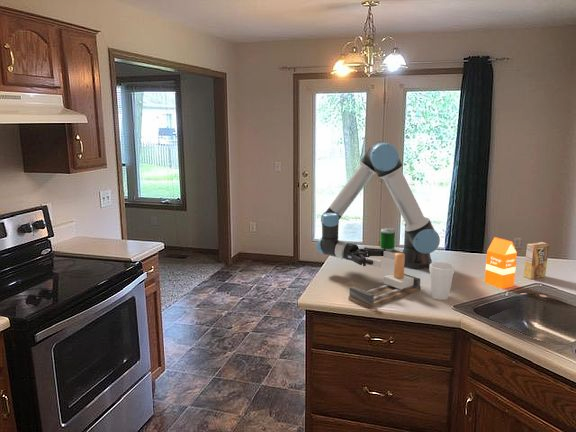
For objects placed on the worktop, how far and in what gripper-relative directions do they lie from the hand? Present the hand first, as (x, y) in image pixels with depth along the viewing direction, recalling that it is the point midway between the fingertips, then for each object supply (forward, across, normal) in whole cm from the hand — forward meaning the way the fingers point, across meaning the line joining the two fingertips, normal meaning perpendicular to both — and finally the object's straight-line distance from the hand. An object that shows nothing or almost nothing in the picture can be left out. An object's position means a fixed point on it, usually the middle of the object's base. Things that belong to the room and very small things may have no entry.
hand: (389, 260), depth 193 cm
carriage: (+5, 0, -9) cm, 10 cm away
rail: (+3, +8, -12) cm, 15 cm away
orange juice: (+34, -35, -12) cm, 50 cm away
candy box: (+42, -55, -12) cm, 70 cm away
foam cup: (+21, -5, -12) cm, 25 cm away
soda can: (-30, -50, -12) cm, 60 cm away
